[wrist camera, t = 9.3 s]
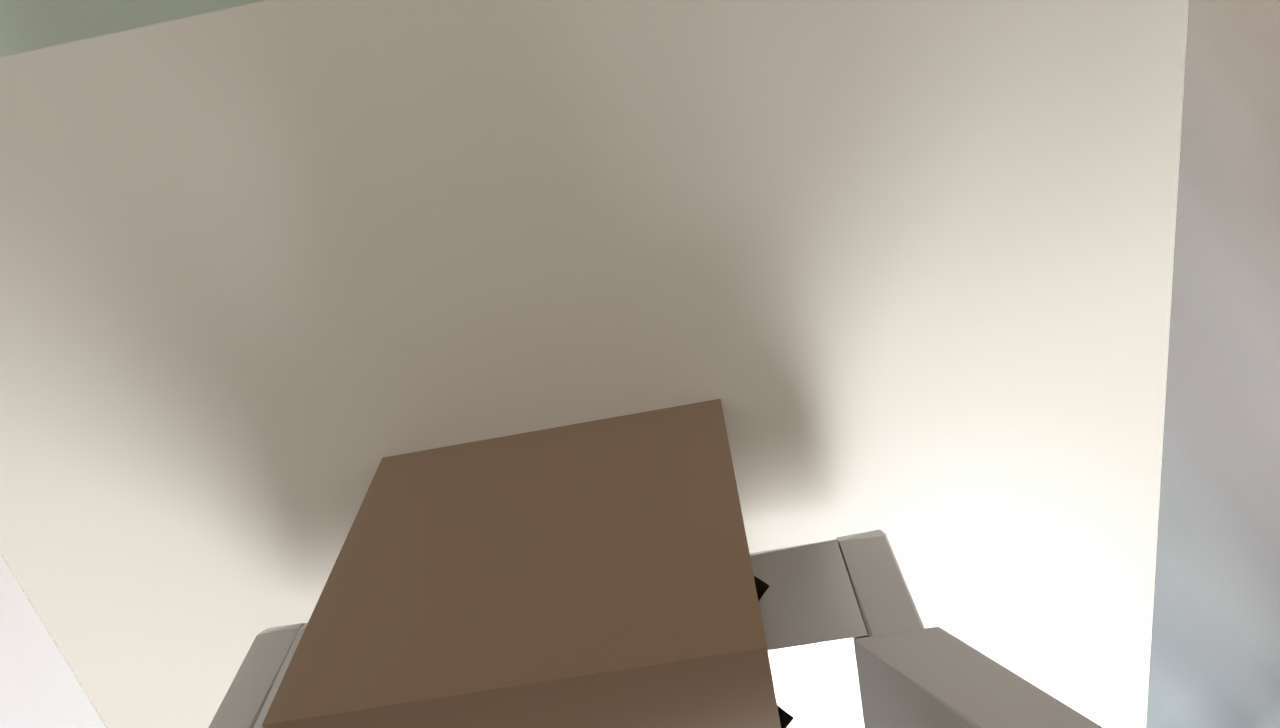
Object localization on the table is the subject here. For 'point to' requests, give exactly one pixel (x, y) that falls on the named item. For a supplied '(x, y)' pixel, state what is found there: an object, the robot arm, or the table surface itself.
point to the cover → (582, 345)
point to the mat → (88, 18)
